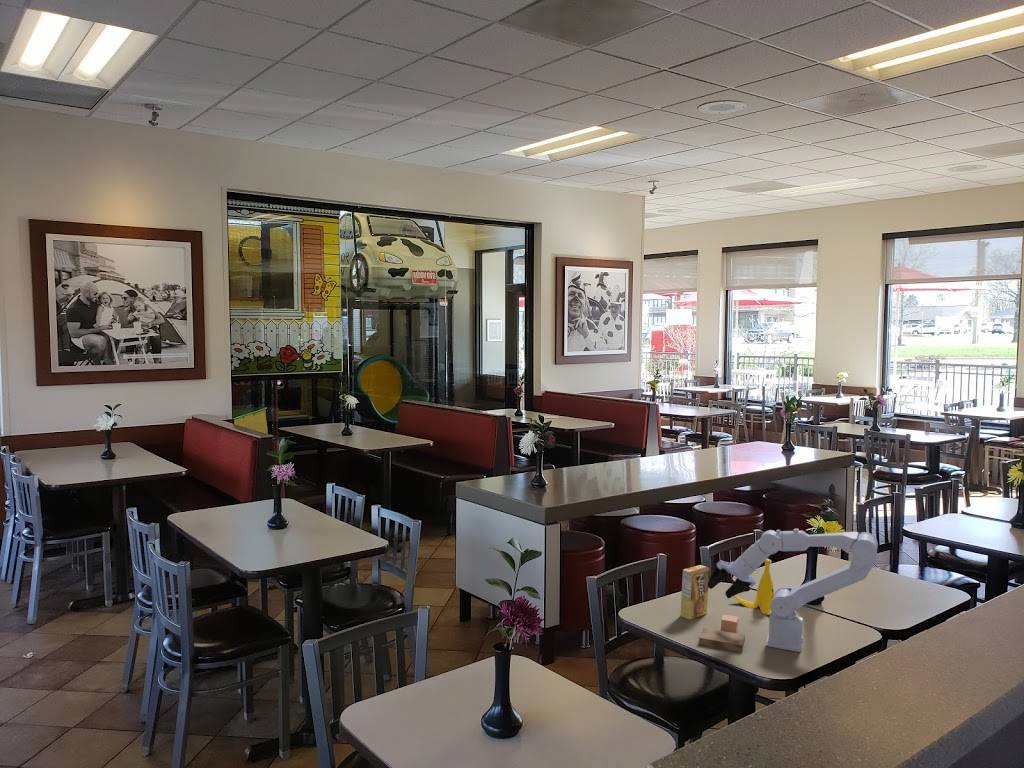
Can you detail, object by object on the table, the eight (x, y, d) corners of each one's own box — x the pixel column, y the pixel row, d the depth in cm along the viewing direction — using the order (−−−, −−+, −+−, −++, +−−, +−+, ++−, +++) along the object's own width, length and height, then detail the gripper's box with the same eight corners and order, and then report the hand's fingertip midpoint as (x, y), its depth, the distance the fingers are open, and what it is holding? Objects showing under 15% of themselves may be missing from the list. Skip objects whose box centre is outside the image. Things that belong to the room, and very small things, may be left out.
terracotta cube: (737, 631, 234) (738, 617, 234) (736, 636, 230) (736, 622, 230) (722, 628, 236) (723, 614, 236) (720, 634, 232) (721, 619, 231)
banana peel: (786, 602, 260) (789, 554, 258) (779, 622, 243) (783, 570, 241) (736, 594, 267) (739, 546, 265) (726, 612, 250) (729, 561, 248)
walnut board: (744, 641, 226) (745, 634, 226) (741, 652, 219) (742, 645, 219) (703, 634, 231) (703, 627, 231) (699, 644, 224) (699, 637, 223)
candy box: (696, 610, 250) (699, 564, 249) (707, 614, 247) (710, 567, 246) (679, 616, 245) (682, 569, 243) (690, 620, 241) (692, 572, 240)
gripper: (760, 561, 234) (730, 590, 239) (727, 543, 229) (696, 572, 234) (769, 578, 228) (738, 607, 233) (735, 559, 223) (704, 589, 228)
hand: (717, 591), depth 233 cm, fingers open, 7 cm apart
